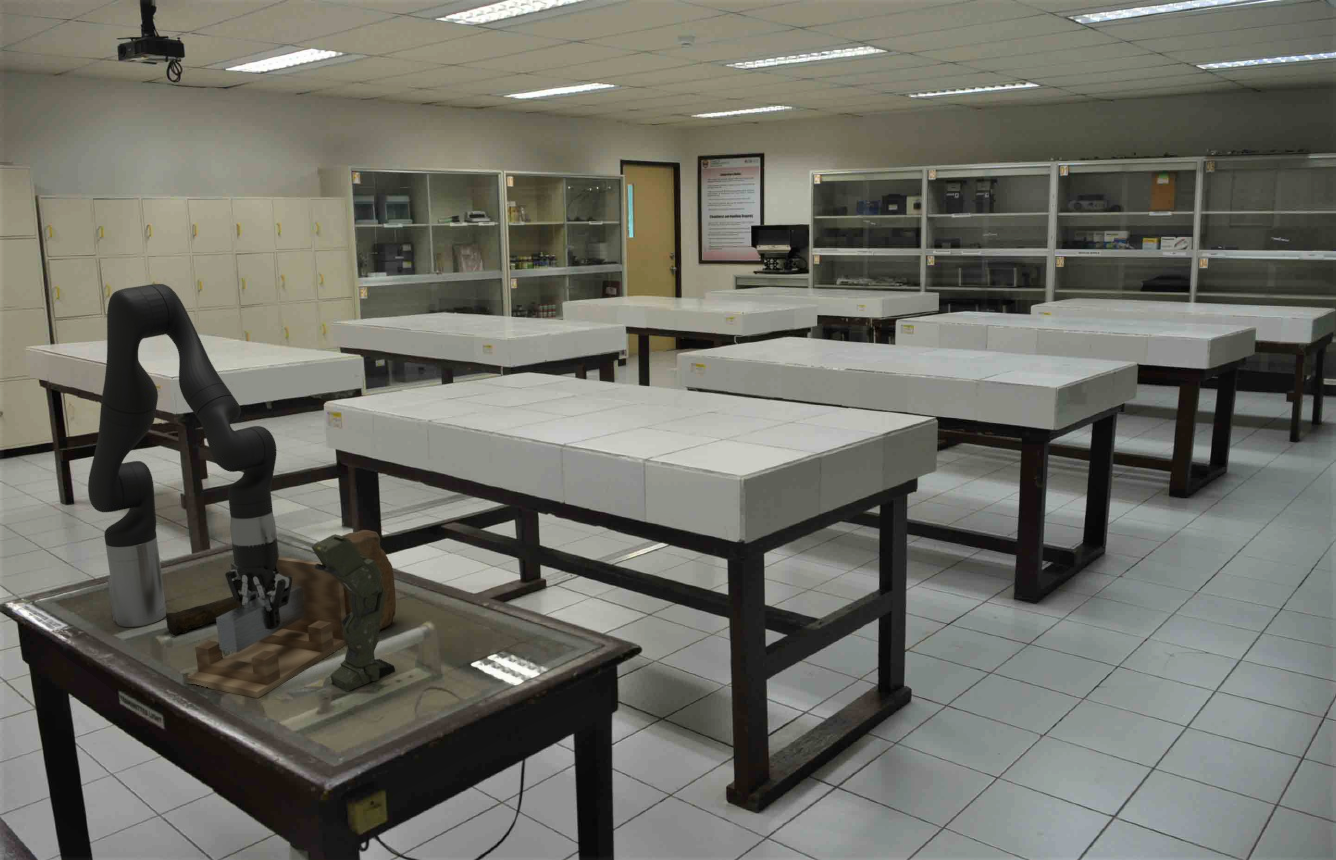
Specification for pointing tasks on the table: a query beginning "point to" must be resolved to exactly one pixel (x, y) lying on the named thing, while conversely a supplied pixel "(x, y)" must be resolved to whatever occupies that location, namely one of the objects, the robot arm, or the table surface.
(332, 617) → the post cradle
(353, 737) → the table surface
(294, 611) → the rail
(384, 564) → the brown rounded piece
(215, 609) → the dark brown bar
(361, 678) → the mechanical leg
